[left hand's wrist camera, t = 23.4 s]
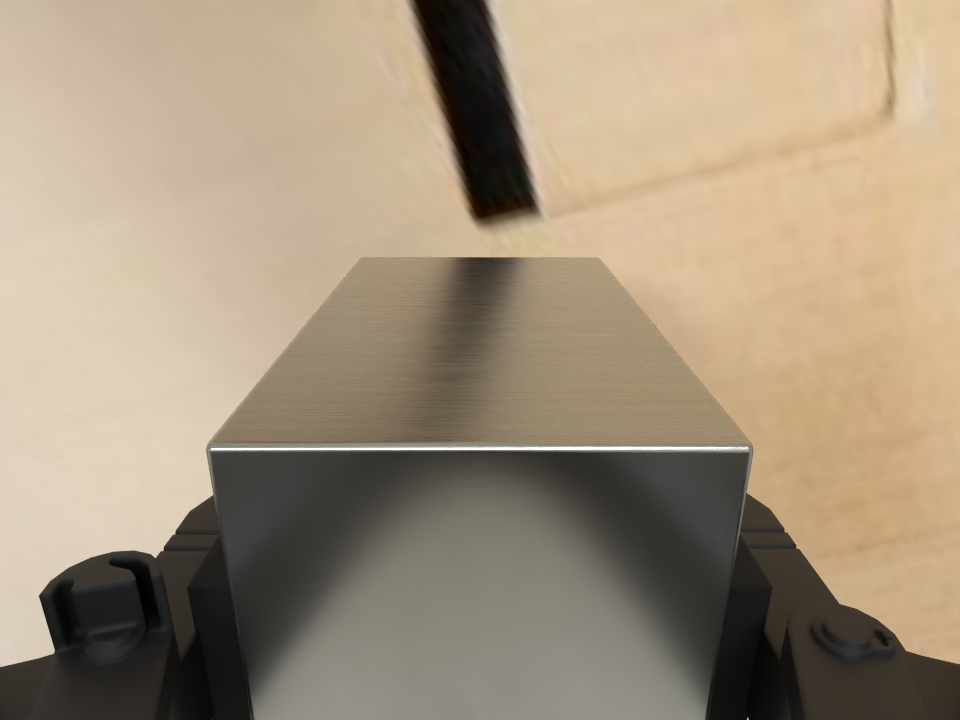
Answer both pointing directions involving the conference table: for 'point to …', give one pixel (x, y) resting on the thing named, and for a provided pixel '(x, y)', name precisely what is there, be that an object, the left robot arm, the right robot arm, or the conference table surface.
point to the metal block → (479, 503)
